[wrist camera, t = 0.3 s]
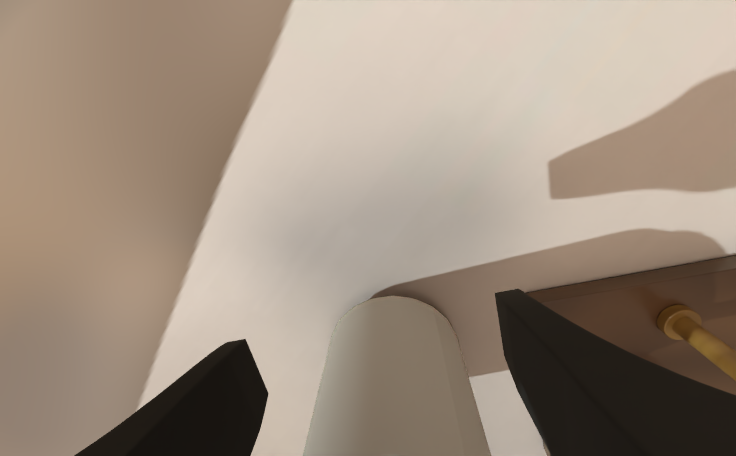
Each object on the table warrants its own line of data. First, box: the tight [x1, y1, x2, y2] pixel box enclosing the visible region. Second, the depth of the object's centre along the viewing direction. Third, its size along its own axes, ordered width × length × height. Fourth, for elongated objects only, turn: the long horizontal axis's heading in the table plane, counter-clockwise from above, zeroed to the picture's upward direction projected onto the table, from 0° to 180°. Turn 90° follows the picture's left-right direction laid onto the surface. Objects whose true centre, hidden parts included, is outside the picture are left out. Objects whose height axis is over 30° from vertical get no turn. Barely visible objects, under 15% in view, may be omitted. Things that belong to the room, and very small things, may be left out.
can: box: [303, 296, 491, 456], centre depth 16 cm, size 8×8×12 cm
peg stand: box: [526, 256, 736, 456], centre depth 17 cm, size 12×14×9 cm
